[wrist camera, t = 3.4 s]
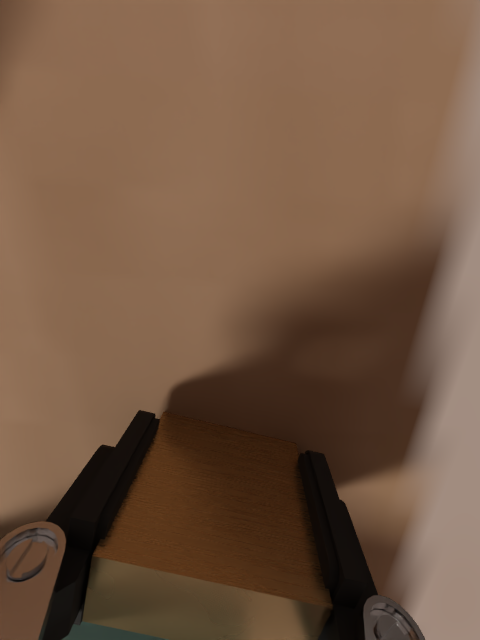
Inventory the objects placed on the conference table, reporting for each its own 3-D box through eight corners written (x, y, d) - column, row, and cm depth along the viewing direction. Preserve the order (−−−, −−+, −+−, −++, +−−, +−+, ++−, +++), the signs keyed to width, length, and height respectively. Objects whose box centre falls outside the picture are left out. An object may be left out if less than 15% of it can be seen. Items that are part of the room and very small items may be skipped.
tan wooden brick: (163, 411, 11) (92, 555, 6) (295, 442, 11) (332, 608, 6) (154, 455, 11) (82, 620, 6) (280, 484, 11) (303, 667, 6)
